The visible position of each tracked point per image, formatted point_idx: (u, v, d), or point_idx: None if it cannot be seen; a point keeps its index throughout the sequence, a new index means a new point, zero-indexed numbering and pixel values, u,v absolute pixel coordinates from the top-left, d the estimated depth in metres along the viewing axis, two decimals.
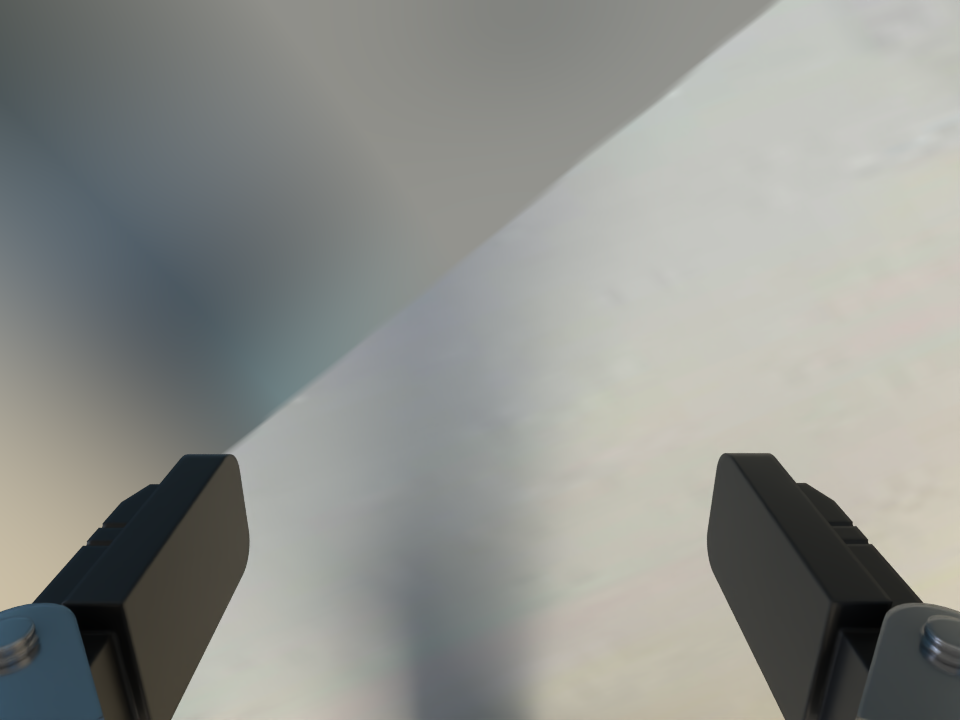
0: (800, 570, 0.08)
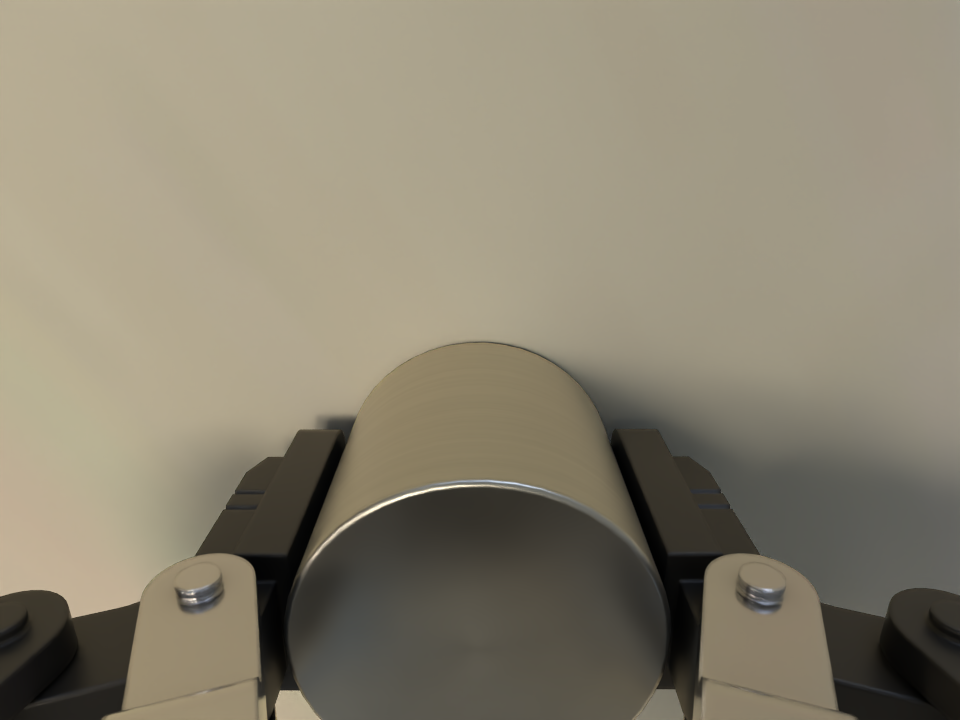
0: (653, 529, 0.09)
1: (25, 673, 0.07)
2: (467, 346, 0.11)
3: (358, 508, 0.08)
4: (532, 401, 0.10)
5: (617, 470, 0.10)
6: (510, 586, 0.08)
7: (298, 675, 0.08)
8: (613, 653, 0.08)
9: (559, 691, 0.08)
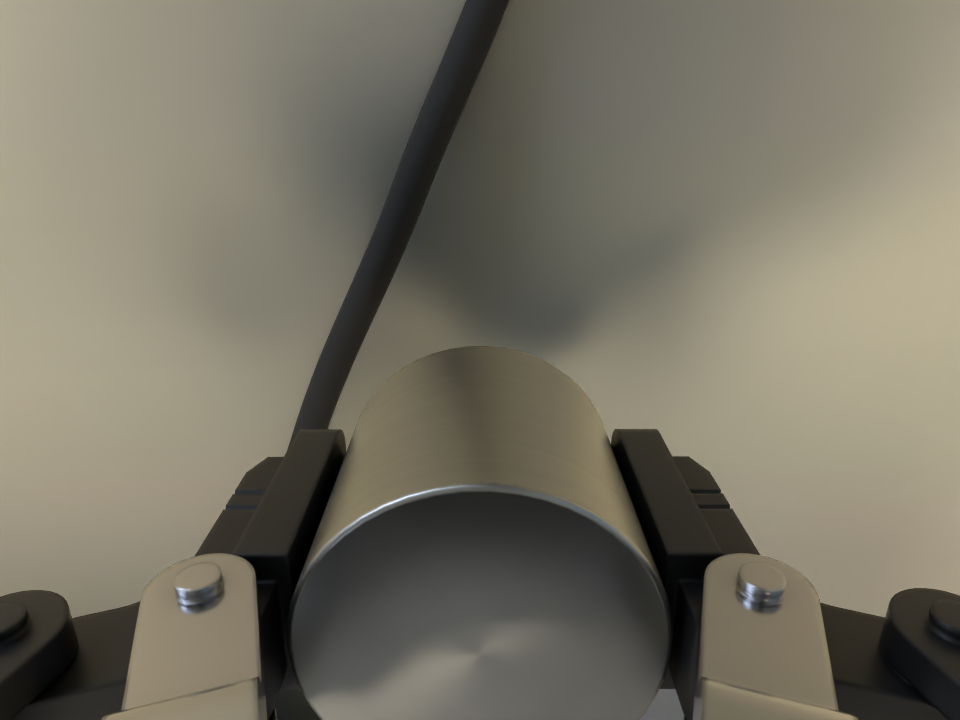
0: (653, 529, 0.09)
1: (25, 673, 0.07)
2: (468, 350, 0.11)
3: (360, 513, 0.08)
4: (533, 405, 0.10)
5: (618, 474, 0.10)
6: (512, 590, 0.08)
7: (301, 679, 0.08)
8: (615, 657, 0.08)
9: (561, 695, 0.09)
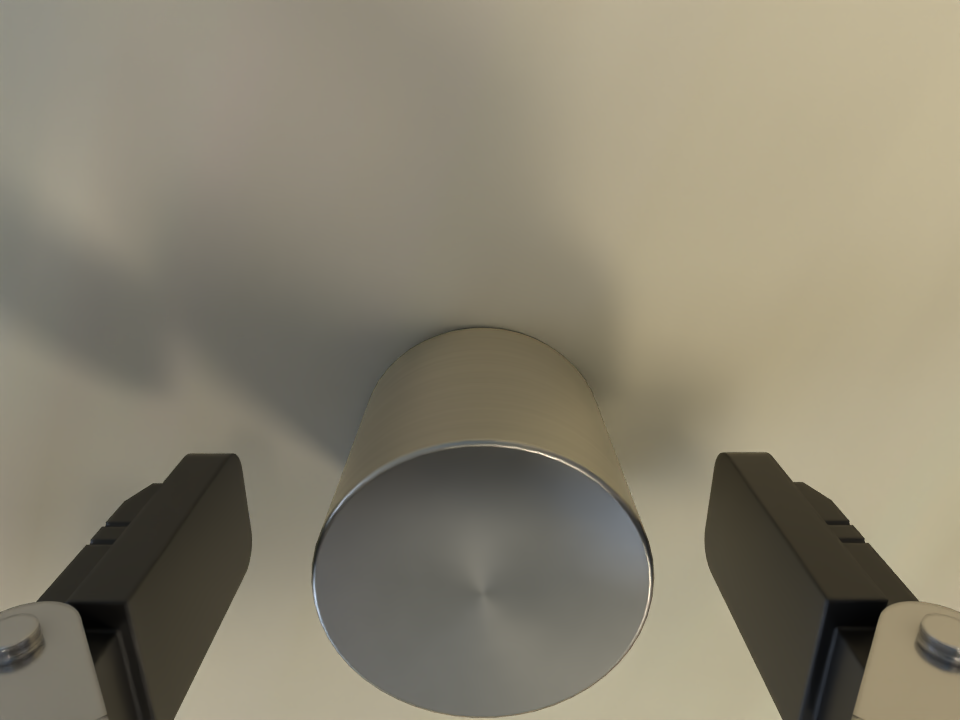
0: (796, 568, 0.08)
1: None
2: (472, 331, 0.12)
3: (377, 465, 0.09)
4: (531, 377, 0.11)
5: (608, 440, 0.11)
6: (512, 535, 0.09)
7: (323, 617, 0.09)
8: (603, 597, 0.09)
9: (555, 632, 0.10)
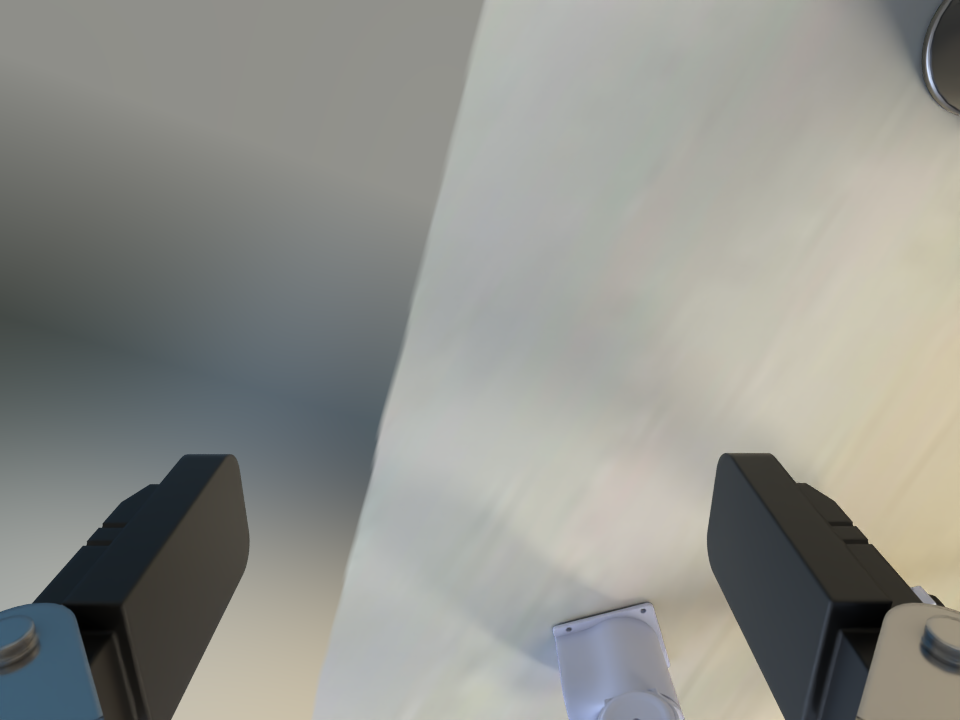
0: (800, 570, 0.08)
1: None
2: None
3: None
4: None
5: None
6: None
7: None
8: None
9: None
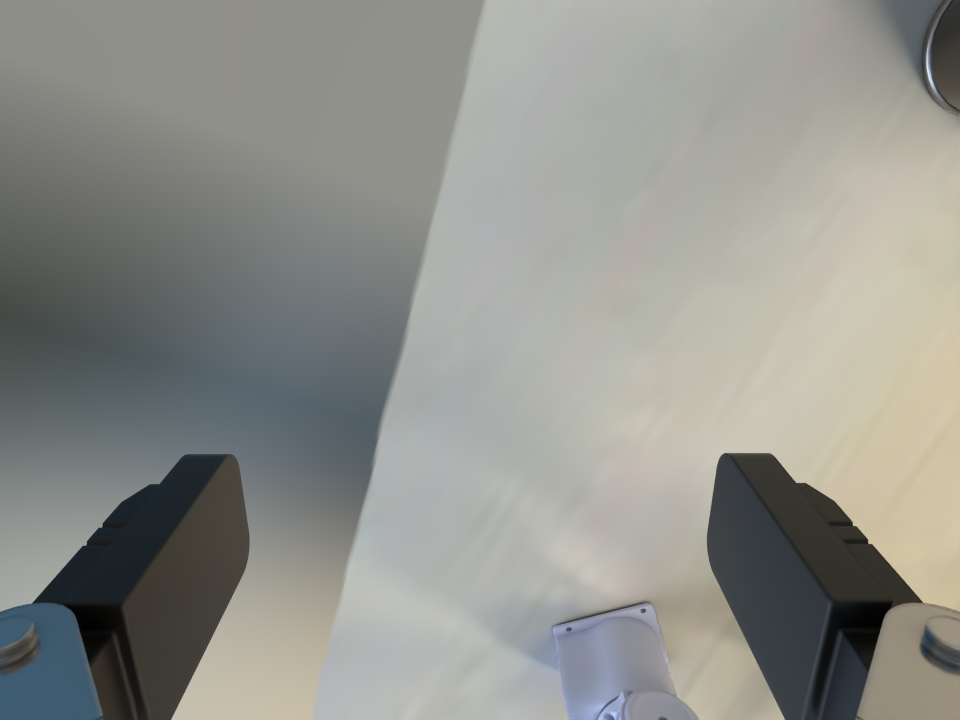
0: (800, 570, 0.08)
1: None
2: None
3: None
4: None
5: None
6: None
7: None
8: None
9: None
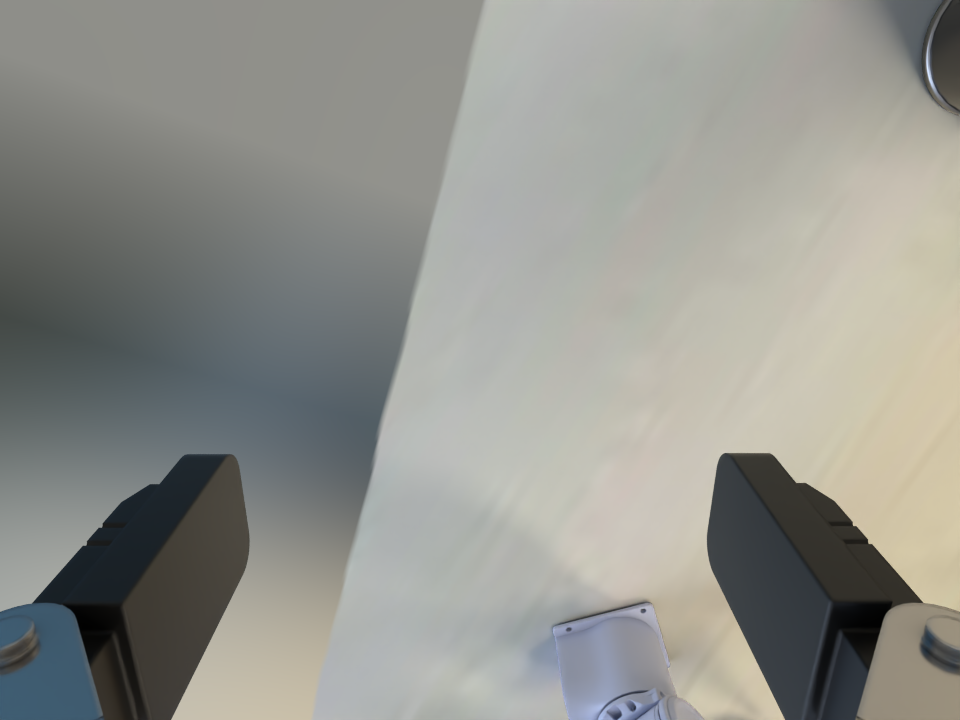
0: (800, 570, 0.08)
1: None
2: None
3: None
4: None
5: None
6: None
7: None
8: None
9: None
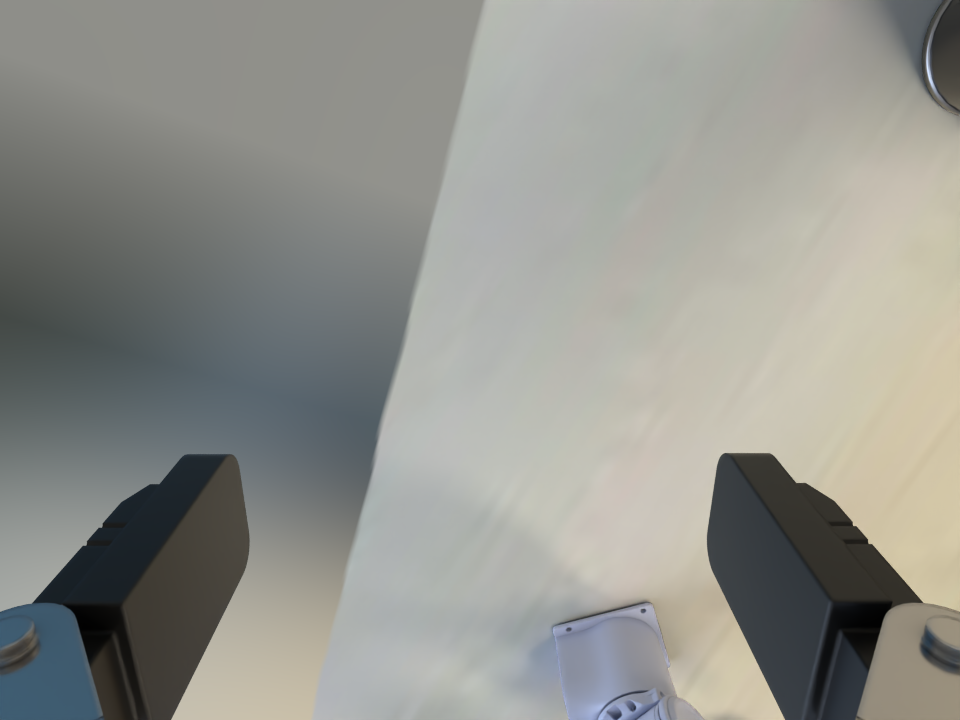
0: (800, 570, 0.08)
1: None
2: None
3: None
4: None
5: None
6: None
7: None
8: None
9: None
